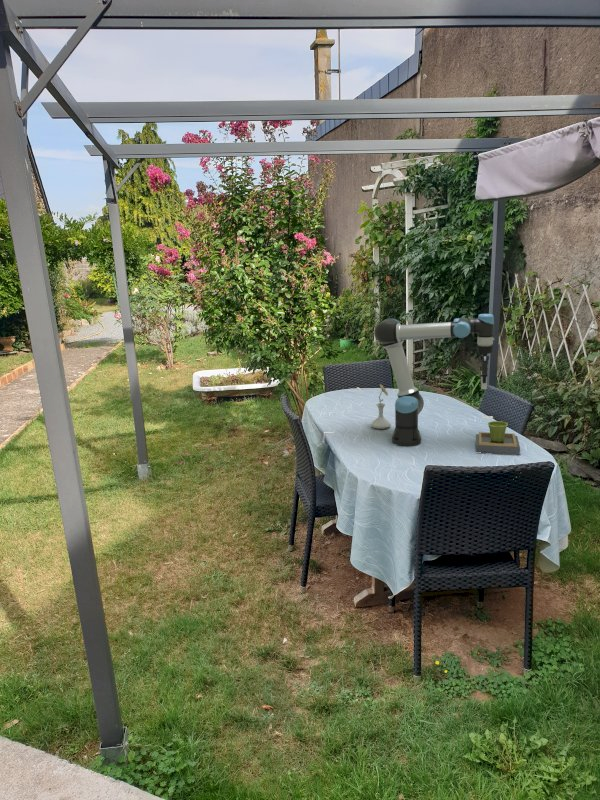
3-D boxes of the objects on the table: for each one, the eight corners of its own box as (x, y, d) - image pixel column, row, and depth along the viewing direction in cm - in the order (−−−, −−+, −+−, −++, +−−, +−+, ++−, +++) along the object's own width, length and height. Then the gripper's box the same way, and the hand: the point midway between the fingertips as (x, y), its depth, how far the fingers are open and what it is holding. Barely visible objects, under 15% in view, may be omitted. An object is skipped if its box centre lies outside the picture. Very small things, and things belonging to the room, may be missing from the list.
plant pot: (494, 444, 278) (495, 427, 276) (483, 438, 287) (484, 422, 285) (511, 442, 281) (511, 425, 278) (499, 436, 289) (500, 420, 287)
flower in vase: (390, 430, 320) (390, 387, 314) (370, 430, 322) (369, 387, 316) (391, 424, 332) (391, 382, 326) (372, 423, 335) (371, 382, 328)
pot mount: (476, 452, 279) (476, 442, 278) (475, 441, 296) (476, 431, 295) (519, 455, 274) (520, 444, 272) (516, 443, 290) (517, 433, 289)
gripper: (493, 349, 274) (492, 391, 279) (492, 341, 297) (490, 380, 302) (477, 349, 276) (476, 391, 281) (477, 341, 299) (475, 380, 304)
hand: (483, 386), depth 292 cm, fingers open, 13 cm apart
